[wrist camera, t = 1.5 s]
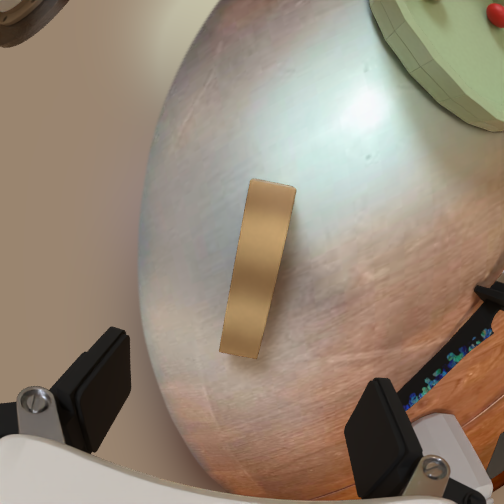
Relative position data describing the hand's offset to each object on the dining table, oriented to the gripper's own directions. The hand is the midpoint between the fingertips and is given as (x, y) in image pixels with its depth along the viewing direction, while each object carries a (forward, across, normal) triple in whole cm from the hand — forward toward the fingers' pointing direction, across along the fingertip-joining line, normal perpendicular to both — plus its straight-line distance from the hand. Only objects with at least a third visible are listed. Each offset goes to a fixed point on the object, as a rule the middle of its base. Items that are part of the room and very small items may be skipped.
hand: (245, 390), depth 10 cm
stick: (+14, 0, 0) cm, 14 cm away
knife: (+14, -21, +1) cm, 25 cm away
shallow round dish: (+14, -14, -27) cm, 33 cm away
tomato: (+13, -18, -30) cm, 37 cm away
